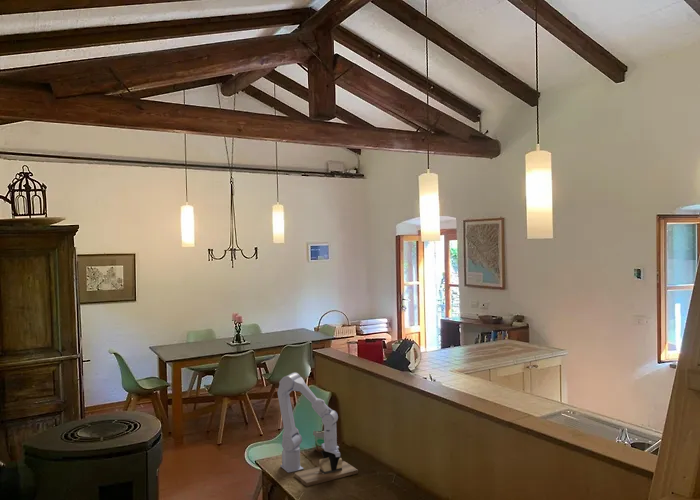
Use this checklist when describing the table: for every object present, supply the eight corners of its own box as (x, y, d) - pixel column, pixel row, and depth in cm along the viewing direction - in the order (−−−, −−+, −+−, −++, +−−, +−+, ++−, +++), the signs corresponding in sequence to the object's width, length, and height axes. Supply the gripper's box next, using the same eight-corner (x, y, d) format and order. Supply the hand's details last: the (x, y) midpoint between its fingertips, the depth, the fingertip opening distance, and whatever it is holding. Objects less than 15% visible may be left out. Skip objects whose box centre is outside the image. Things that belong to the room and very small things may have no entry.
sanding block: (319, 470, 248) (319, 459, 248) (336, 466, 253) (336, 455, 253) (324, 474, 244) (324, 462, 244) (342, 469, 248) (341, 458, 248)
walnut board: (294, 476, 246) (294, 472, 246) (343, 464, 259) (343, 460, 259) (306, 486, 235) (306, 482, 235) (358, 473, 248) (358, 469, 248)
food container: (310, 452, 275) (310, 433, 275) (313, 448, 281) (313, 429, 281) (334, 453, 273) (334, 433, 273) (336, 449, 279) (336, 430, 279)
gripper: (345, 441, 244) (346, 471, 244) (330, 432, 257) (331, 461, 257) (332, 444, 241) (332, 474, 241) (317, 435, 253) (317, 464, 253)
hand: (331, 468), depth 248 cm, fingers closed on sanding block, 5 cm apart
